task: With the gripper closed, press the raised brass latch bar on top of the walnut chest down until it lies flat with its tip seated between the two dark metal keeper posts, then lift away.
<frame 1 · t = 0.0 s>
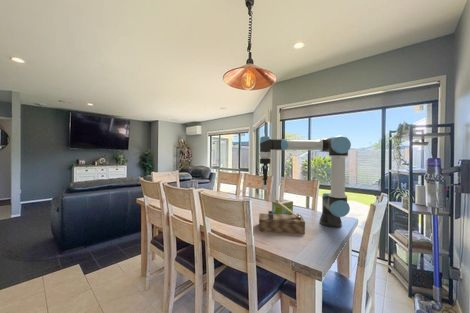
hand: (264, 187, 148), 28 cm above the table, fingers open, 13 cm apart
walnut chest: (280, 228, 146), on the table
latch bar: (287, 208, 145), point 14 cm above the table, hinge at 35.0°, touching walnut chest
tea box: (282, 219, 165), on the table
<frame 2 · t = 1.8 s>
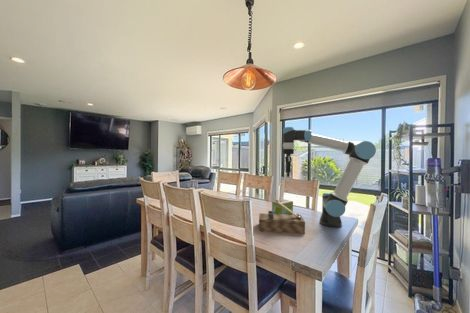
hand: (287, 181, 151), 33 cm above the table, fingers closed
nothing on the table moved.
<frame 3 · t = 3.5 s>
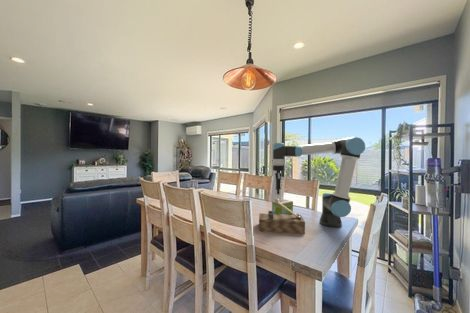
hand: (277, 198, 146), 21 cm above the table, fingers closed
latch bar: (287, 208, 145), point 14 cm above the table, hinge at 34.8°, touching gripper, walnut chest
everything else where it was.
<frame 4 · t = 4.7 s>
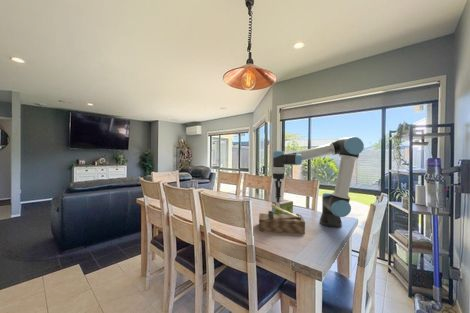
hand: (277, 206, 146), 15 cm above the table, fingers closed
latch bar: (285, 211, 145), point 12 cm above the table, hinge at 21.8°, touching gripper
everything else where it was.
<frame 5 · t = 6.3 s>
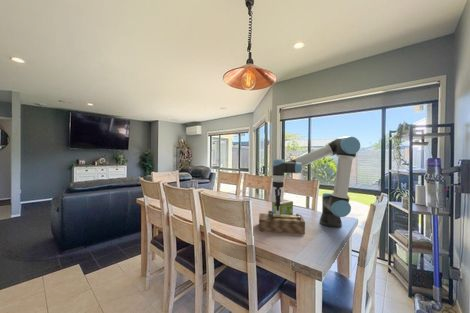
hand: (277, 214, 146), 10 cm above the table, fingers closed
latch bar: (284, 215, 145), point 9 cm above the table, hinge at 2.0°, touching gripper
everything else where it was.
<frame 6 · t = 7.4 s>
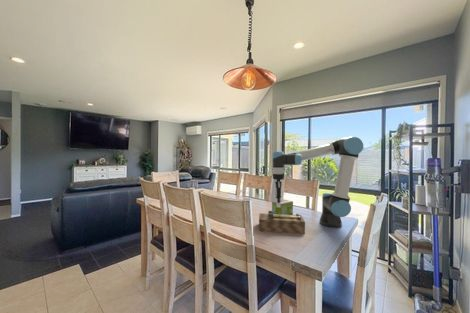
hand: (278, 206, 146), 15 cm above the table, fingers closed
latch bar: (284, 215, 145), point 9 cm above the table, hinge at 1.9°
everything else where it was.
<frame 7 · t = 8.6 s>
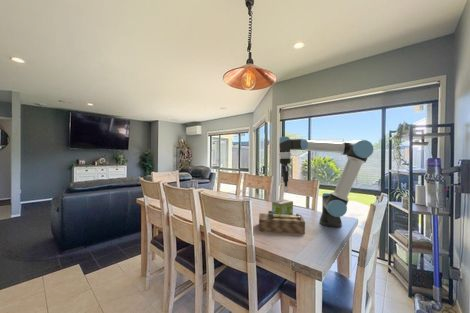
hand: (285, 190, 150), 26 cm above the table, fingers closed
nothing on the table moved.
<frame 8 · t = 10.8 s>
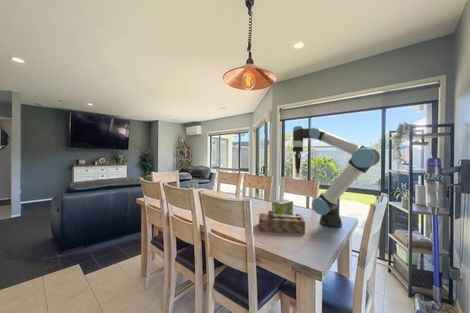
hand: (297, 177, 160), 34 cm above the table, fingers closed
nothing on the table moved.
at the end: latch bar at +2° (first picture: +35°); tea box moved 0.3 cm from its start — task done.
